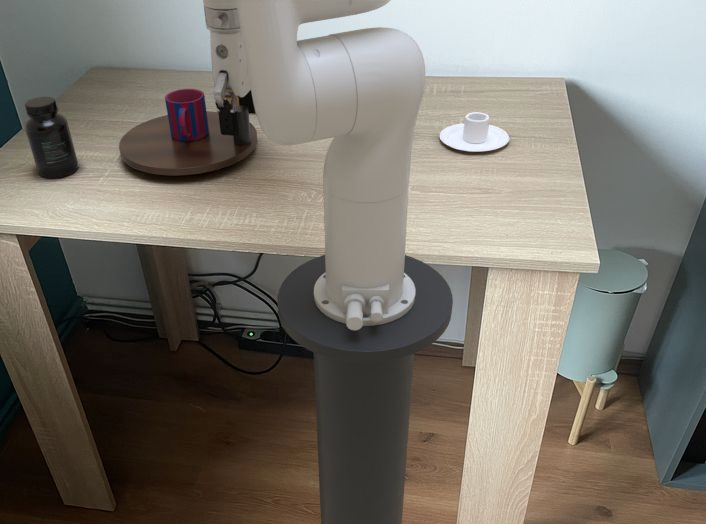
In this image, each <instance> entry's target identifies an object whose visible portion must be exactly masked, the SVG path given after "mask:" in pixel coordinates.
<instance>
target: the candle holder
mask: <svg viewBox="0 0 706 524" xmlns="http://www.w3.org/2000/svg"><path fill="white" fill-rule="evenodd" d="M439 139H440V141H441V142H442V143H443V144H444V145H446V146H448V147H450V148H453V149H455V150H459V151H464V152H471V153H472V152H473V153H475V152H476V153H477V152H480V153H481V152H489V151H490V152H491V151H494V150H495V151H496V150H498V149H500V148H503V147H504V146H506V145H507V144H508V143H509V141H510V135H509V134H508V133H507V131H505V130H504V129H503V128H501V127H498V126H496V125H492V124H490V115H489V114H487V113H484V112H478V111H473V112H469V113H467V114H466V115H465V116H464V122H462V123H456V124H455V123H454V124H452V125H448V126H447V127H445V128H443V129H442V130H441V131H440V132H439Z"/></svg>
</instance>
